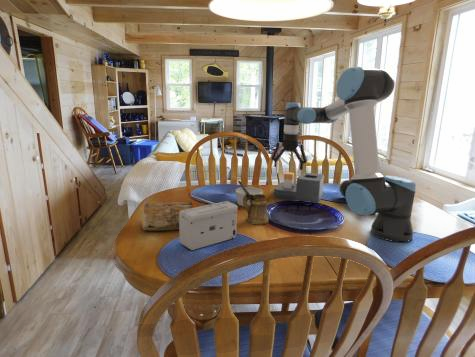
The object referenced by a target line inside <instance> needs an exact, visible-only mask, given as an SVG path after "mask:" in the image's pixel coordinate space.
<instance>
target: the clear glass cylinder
mask: <svg viewBox="0 0 475 357" xmlns="http://www.w3.org/2000/svg"><path fill="white" fill-rule="evenodd" d="M294 179H295V172H290V171H285V172H284V173H283V182H284V184H283V188H289V189H293V184H295V183H294V181H295V180H294Z"/></svg>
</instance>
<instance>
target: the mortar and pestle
mask: <svg viewBox="0 0 475 357" xmlns="http://www.w3.org/2000/svg"><path fill="white" fill-rule="evenodd" d="M237 183H238V184H239V186H240V188H242V189H243V190H244V192H245V193H246V194H245V196H244V198H243V205H244V209H245V210H246V212H247V218H246V221H247V222H248V223H249V224H252V225H258V226H260V225H261V226H262V225H265V224H268V223H269V216H268V207H267V204H268V200H267V196H266V195H265V194H256V195H253V194H249V192H248V191H247V189H246V188H245V187H246V186H245V185H244V184H243V182H242V181H240V180H237ZM248 200H250V203H251V204H250V206H249V205H248V204H247V201H248Z"/></svg>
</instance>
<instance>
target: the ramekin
mask: <svg viewBox="0 0 475 357" xmlns="http://www.w3.org/2000/svg"><path fill="white" fill-rule="evenodd" d="M245 188H246V189H247V191H248V192H249V194H253V195H256V194H262V195H264V194H263V193H264V192H263V190H262V189H260V188H257V187H251V186H247V187H246V186H245ZM235 194H236V197H235V198H236V203H237V205H239V206H240V207H244V205H243V198H244V196H245V194H246V193H245V192H244V190H243V189H242V187H239V188H238V187H237V188H235ZM247 204H248V205H249V206H250V204H251V203H250V200H248V201H247ZM244 208H245V207H244Z"/></svg>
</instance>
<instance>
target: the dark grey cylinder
mask: <svg viewBox="0 0 475 357" xmlns="http://www.w3.org/2000/svg"><path fill="white" fill-rule="evenodd" d="M350 184H351V179H345V180H343V181H341V183H340V184H339V187H338V190H339V193H340V195H341V196H342V197H343V198H345V199H346V196H345V193H346V190H347V187H348V186H349V185H350ZM373 215H376V213H374V214H373Z"/></svg>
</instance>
